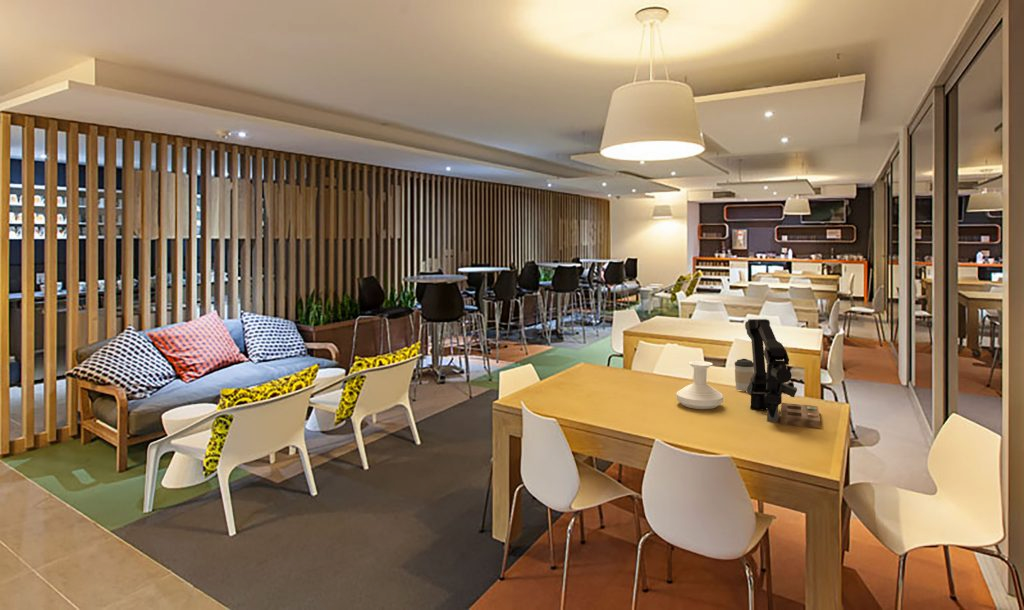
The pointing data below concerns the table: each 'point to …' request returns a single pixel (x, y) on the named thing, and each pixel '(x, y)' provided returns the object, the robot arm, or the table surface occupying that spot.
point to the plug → (774, 416)
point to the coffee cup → (743, 373)
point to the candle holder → (699, 389)
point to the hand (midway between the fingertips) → (772, 414)
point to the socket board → (800, 415)
